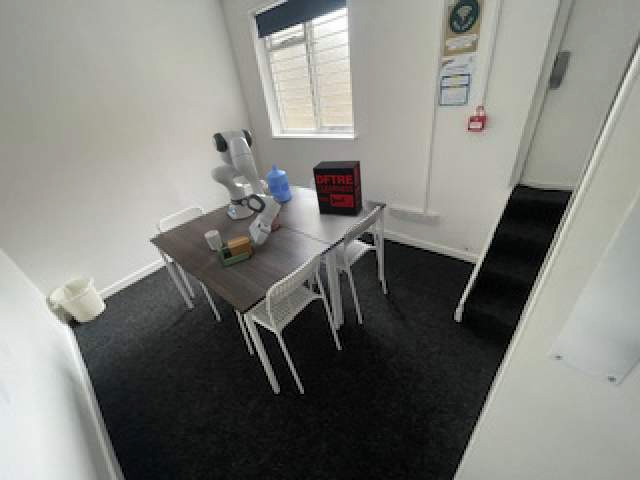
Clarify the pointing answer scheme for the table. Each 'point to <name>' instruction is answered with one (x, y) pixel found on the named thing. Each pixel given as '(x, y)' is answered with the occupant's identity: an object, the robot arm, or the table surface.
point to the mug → (275, 223)
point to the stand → (232, 259)
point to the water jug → (278, 184)
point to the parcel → (240, 246)
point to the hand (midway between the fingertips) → (250, 243)
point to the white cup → (213, 239)
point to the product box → (338, 187)
